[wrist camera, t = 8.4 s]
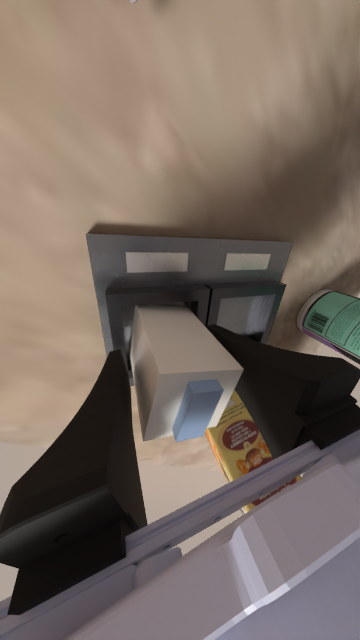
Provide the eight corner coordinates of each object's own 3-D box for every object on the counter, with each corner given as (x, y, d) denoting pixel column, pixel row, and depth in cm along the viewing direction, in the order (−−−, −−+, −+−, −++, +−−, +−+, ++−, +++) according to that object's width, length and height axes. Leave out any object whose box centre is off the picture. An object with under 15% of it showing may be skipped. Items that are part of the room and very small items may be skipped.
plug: (187, 307, 14) (252, 378, 8) (176, 349, 16) (221, 437, 9) (136, 302, 12) (163, 386, 6) (129, 350, 14) (145, 455, 8)
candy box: (182, 380, 19) (333, 707, 6) (217, 363, 19) (420, 628, 7) (198, 421, 24) (302, 653, 11) (226, 407, 24) (355, 610, 12)
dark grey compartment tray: (284, 241, 15) (306, 243, 13) (250, 354, 21) (262, 366, 19) (87, 233, 10) (83, 235, 9) (112, 382, 16) (112, 401, 14)
